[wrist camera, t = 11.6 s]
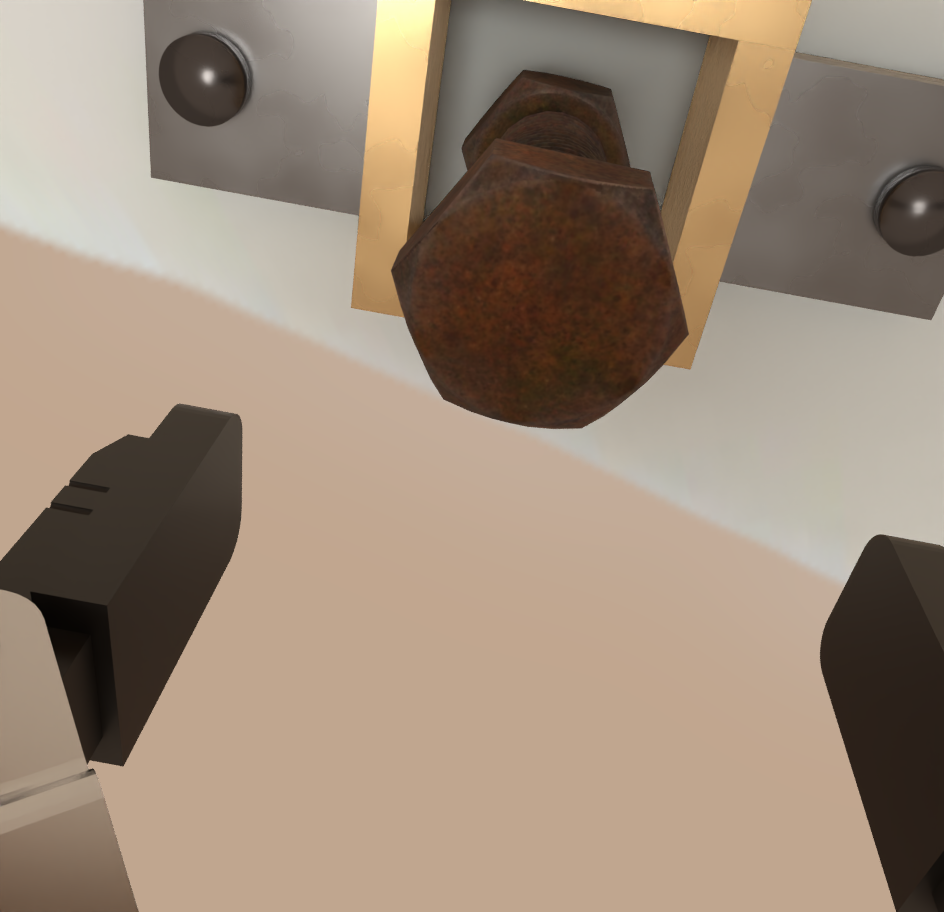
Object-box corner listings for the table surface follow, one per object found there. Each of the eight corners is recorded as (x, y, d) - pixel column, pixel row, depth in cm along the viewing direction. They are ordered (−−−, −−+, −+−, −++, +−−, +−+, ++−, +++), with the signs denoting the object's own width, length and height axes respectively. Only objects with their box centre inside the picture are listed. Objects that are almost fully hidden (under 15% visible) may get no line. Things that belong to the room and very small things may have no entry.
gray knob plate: (1012, 92, 27) (1048, 108, 25) (915, 301, 31) (939, 330, 29) (725, 39, 27) (738, 51, 25) (663, 255, 31) (670, 280, 29)
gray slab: (420, -18, 27) (409, -10, 25) (395, 206, 31) (384, 228, 29) (161, -66, 27) (129, -62, 25) (169, 164, 31) (141, 184, 29)
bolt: (647, 187, 30) (707, 408, 17) (505, 231, 31) (464, 467, 19) (603, 4, 27) (636, 110, 14) (448, 61, 28) (355, 203, 16)
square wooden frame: (780, -29, 26) (816, -14, 22) (675, 312, 32) (690, 369, 28) (411, -97, 26) (386, -94, 22) (376, 257, 32) (351, 307, 28)
